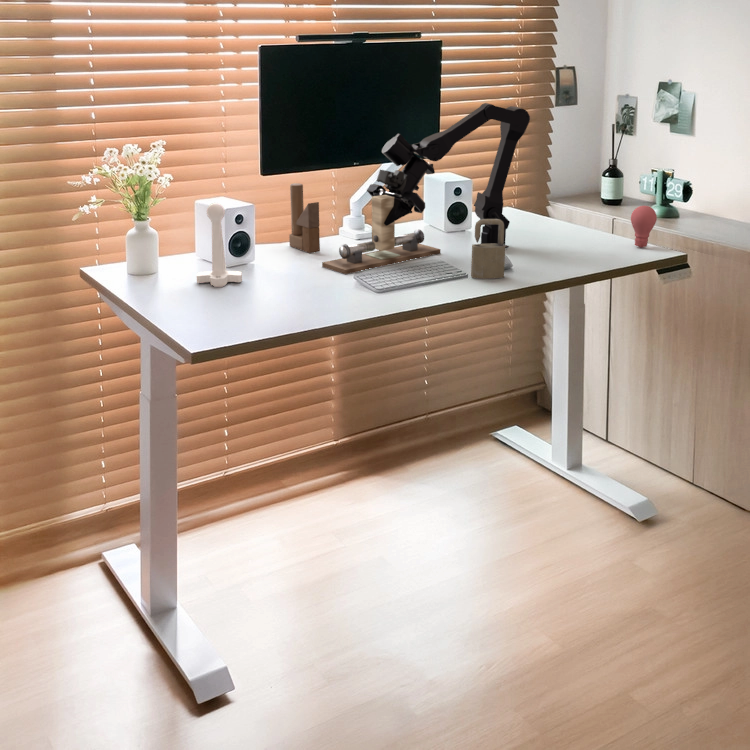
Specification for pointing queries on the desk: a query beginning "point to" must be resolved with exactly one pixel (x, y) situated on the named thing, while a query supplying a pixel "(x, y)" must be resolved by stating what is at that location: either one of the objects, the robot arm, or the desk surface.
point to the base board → (380, 259)
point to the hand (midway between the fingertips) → (379, 223)
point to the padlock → (488, 253)
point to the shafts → (355, 251)
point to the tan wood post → (382, 223)
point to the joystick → (218, 252)
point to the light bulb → (643, 224)
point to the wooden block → (304, 222)
